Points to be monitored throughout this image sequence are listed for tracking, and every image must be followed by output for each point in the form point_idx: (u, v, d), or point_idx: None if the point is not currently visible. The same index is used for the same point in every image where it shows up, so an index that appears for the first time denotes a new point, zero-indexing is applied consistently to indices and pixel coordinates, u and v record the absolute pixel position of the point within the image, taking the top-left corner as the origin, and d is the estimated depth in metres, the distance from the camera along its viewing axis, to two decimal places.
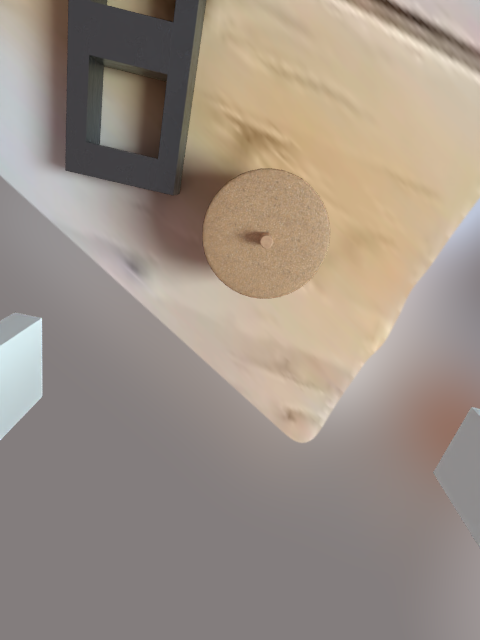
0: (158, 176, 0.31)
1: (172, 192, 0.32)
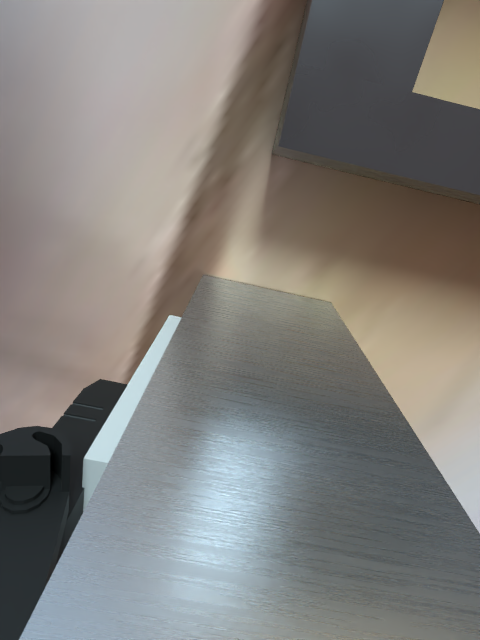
0: None
1: None
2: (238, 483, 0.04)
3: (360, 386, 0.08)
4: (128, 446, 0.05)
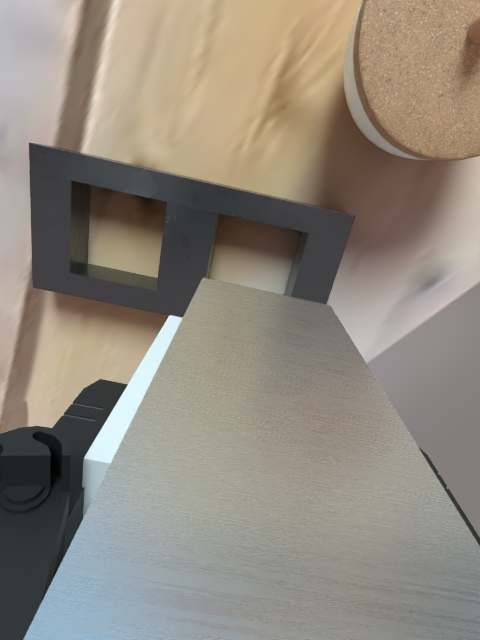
0: (329, 233, 0.24)
1: (351, 216, 0.23)
2: (236, 491, 0.05)
3: (358, 391, 0.08)
4: (127, 454, 0.05)
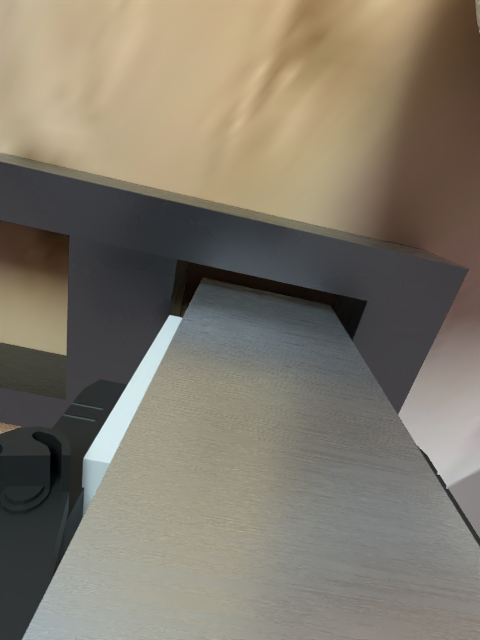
0: (411, 303, 0.12)
1: (460, 269, 0.11)
2: (236, 491, 0.05)
3: (358, 391, 0.08)
4: (126, 453, 0.05)
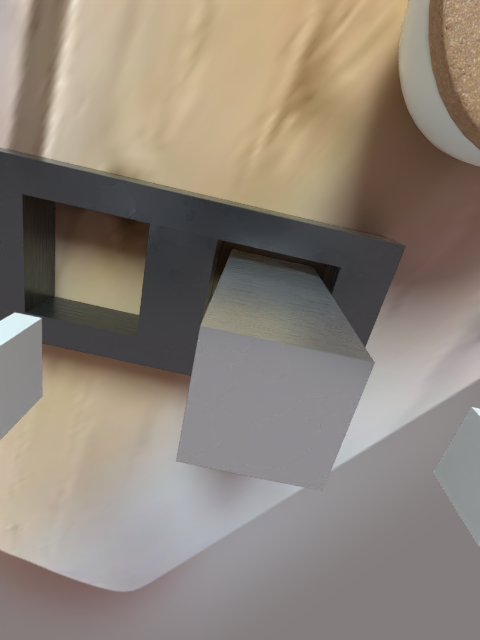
0: (369, 268, 0.18)
1: (400, 246, 0.17)
2: (259, 305, 0.12)
3: (318, 294, 0.15)
4: (217, 294, 0.12)
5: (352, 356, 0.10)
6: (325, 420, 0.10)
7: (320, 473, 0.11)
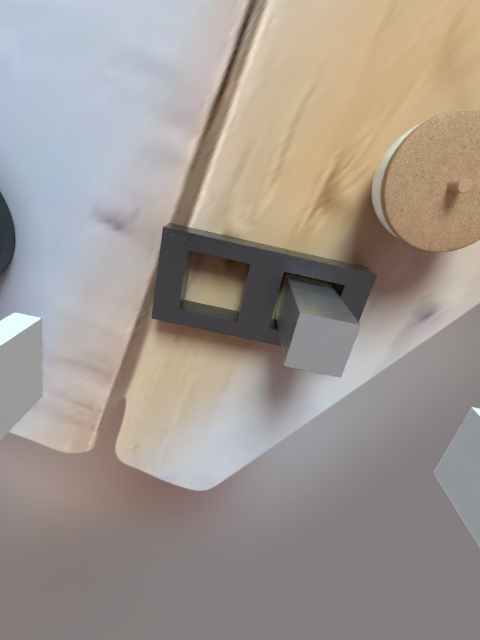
0: (359, 285, 0.35)
1: (374, 275, 0.35)
2: (314, 305, 0.30)
3: (335, 299, 0.33)
4: (297, 300, 0.30)
5: (352, 323, 0.28)
6: (342, 347, 0.28)
7: (340, 369, 0.29)
